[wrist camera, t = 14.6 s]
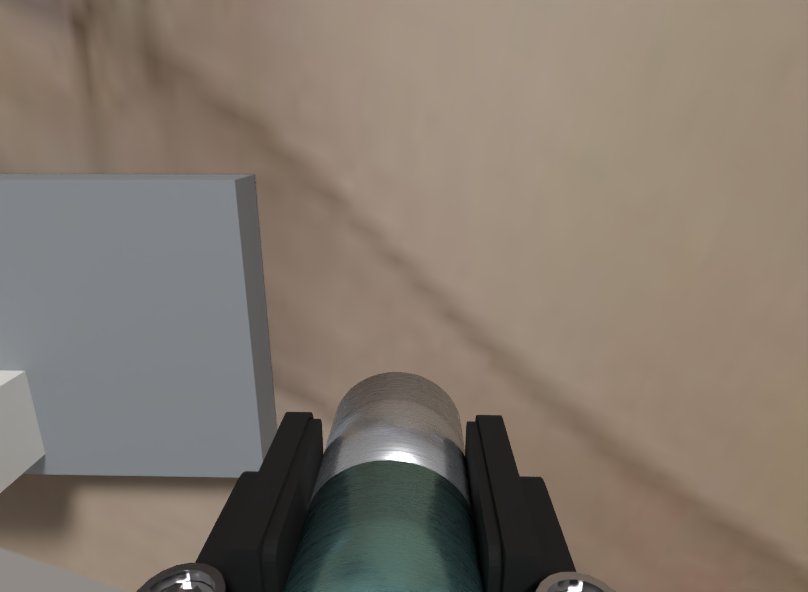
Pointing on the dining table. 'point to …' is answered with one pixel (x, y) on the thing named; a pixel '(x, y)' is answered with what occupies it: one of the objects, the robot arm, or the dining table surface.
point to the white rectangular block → (17, 428)
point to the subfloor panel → (138, 321)
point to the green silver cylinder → (390, 496)
